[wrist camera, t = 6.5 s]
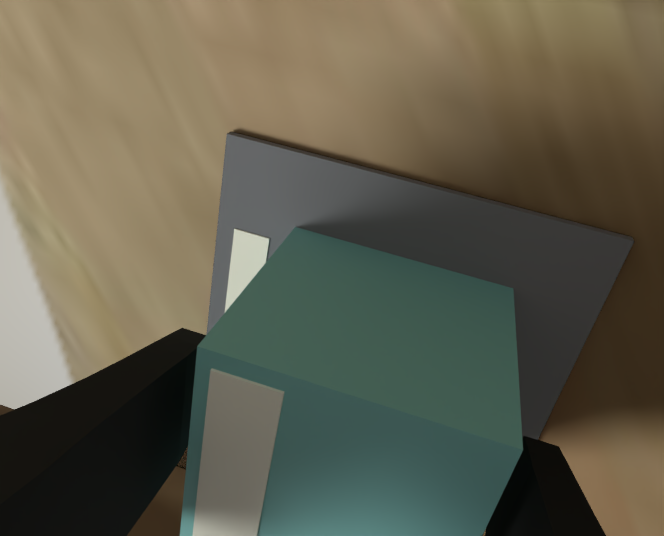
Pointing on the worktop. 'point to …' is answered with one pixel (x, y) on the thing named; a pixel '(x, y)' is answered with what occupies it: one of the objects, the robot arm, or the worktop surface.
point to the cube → (353, 399)
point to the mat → (423, 247)
